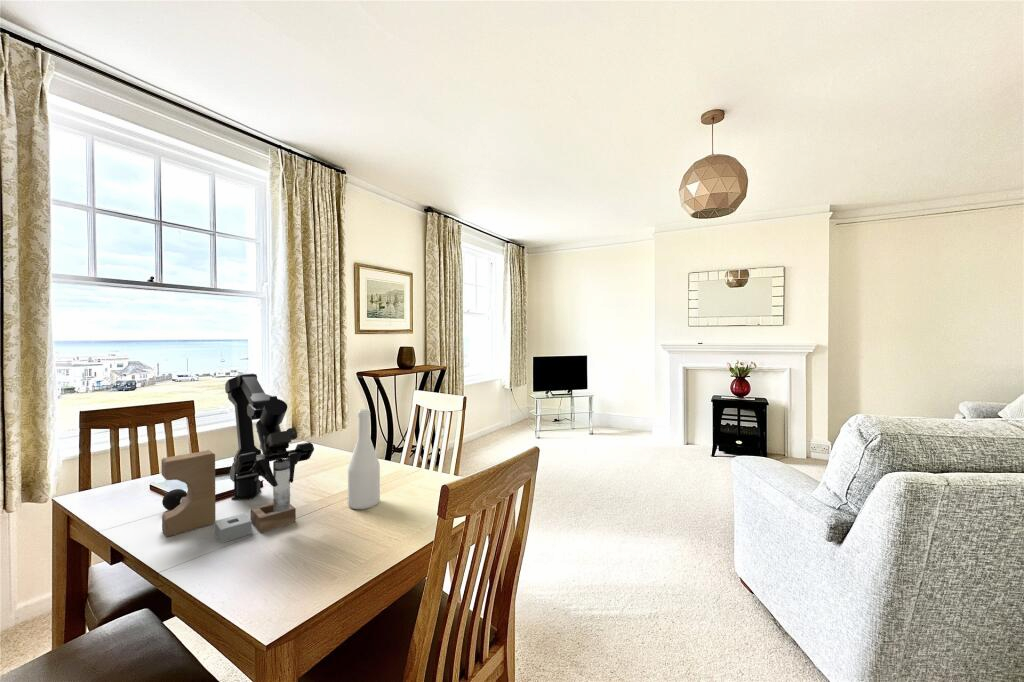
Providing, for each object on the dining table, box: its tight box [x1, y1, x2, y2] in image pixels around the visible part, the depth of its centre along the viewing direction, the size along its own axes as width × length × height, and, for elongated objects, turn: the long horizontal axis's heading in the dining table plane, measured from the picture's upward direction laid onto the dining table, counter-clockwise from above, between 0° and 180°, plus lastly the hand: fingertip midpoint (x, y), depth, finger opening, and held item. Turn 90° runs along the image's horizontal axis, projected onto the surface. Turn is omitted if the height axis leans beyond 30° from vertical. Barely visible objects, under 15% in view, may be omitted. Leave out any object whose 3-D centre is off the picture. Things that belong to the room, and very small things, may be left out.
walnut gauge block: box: [250, 502, 297, 534], centre depth 119 cm, size 9×9×4 cm
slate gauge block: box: [213, 512, 253, 544], centre depth 112 cm, size 7×7×4 cm
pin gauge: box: [272, 458, 291, 512], centre depth 113 cm, size 4×4×13 cm
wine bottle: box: [347, 408, 381, 510], centre depth 132 cm, size 10×10×30 cm
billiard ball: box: [161, 488, 187, 511], centre depth 127 cm, size 6×6×6 cm
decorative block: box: [161, 449, 217, 538], centre depth 115 cm, size 11×6×20 cm, turn 137°
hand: (283, 484), depth 112 cm, fingers closed on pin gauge, 4 cm apart
